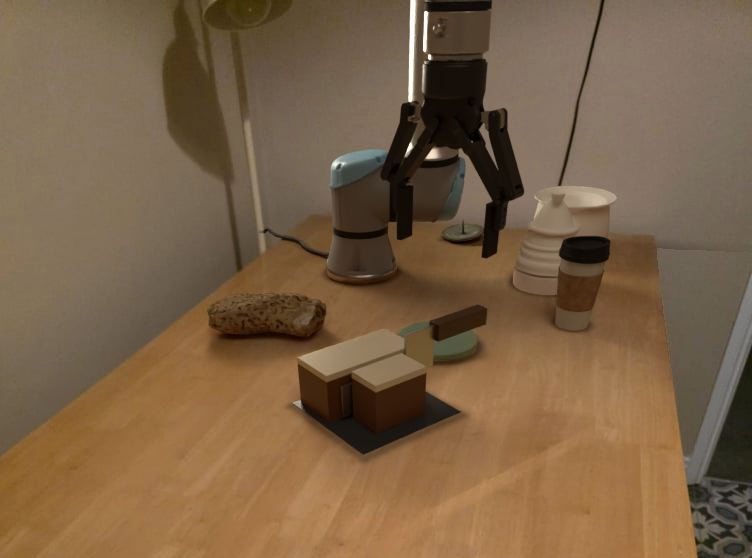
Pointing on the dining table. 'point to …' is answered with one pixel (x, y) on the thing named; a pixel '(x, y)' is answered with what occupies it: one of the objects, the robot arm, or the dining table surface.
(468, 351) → the serving plate
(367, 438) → the cake board
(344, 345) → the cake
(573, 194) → the pot
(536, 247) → the honey pot
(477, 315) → the square cleaver
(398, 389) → the cake slice
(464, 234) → the lid
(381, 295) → the dining table surface
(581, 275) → the coffee cup
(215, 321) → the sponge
